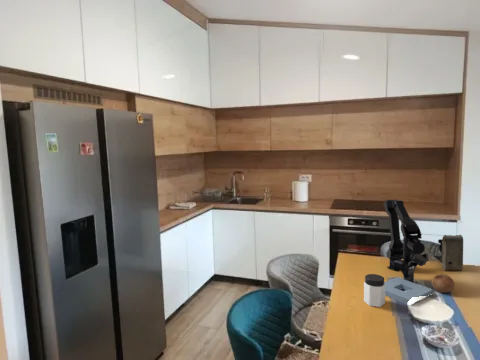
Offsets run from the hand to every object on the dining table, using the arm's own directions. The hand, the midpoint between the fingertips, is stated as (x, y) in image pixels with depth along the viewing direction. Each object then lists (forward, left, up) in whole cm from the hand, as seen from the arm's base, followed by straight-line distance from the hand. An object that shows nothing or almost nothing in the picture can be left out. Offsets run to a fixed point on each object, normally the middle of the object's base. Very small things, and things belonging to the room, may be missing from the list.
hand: (408, 276), depth 174 cm
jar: (+33, +4, -3) cm, 33 cm away
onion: (-2, +16, -3) cm, 16 cm away
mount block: (+14, +6, -2) cm, 15 cm away
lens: (0, 0, -2) cm, 2 cm away
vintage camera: (-35, +1, -3) cm, 35 cm away
